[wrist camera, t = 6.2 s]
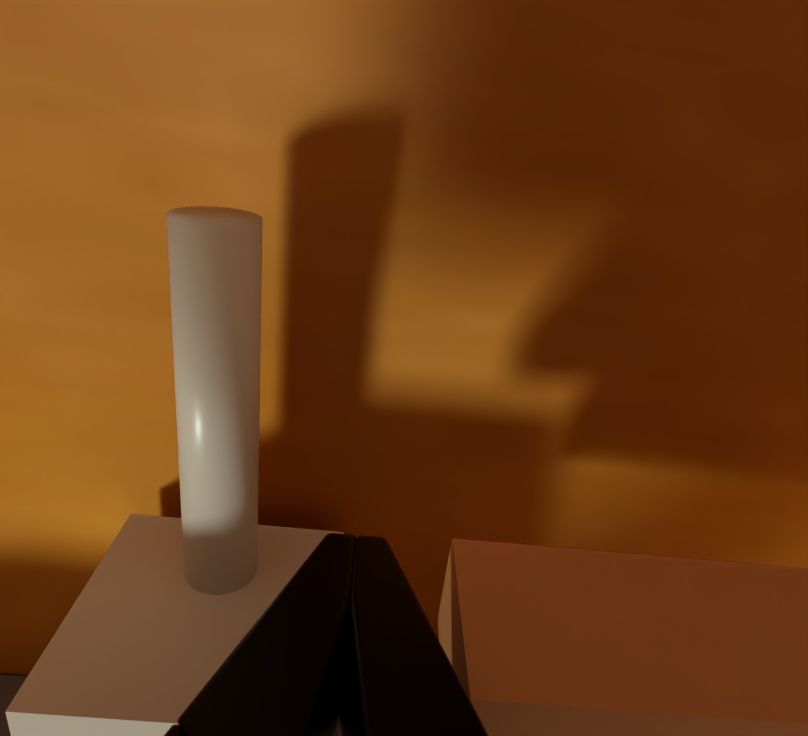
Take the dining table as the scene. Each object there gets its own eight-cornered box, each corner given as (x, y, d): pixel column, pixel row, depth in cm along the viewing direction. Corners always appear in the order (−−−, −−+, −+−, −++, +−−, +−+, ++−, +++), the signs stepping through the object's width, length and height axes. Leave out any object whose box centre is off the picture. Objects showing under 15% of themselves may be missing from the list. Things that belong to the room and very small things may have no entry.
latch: (921, 656, 10) (1081, 832, 8) (437, 618, 10) (449, 790, 7) (969, 582, 9) (1162, 750, 7) (451, 537, 9) (469, 699, 7)
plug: (328, 708, 14) (301, 932, 10) (147, 695, 14) (54, 918, 10) (372, 215, 9) (352, 298, 6) (100, 184, 9) (-104, 251, 5)
